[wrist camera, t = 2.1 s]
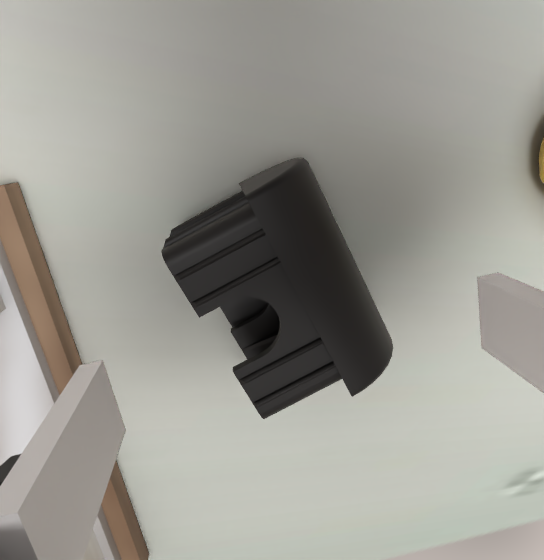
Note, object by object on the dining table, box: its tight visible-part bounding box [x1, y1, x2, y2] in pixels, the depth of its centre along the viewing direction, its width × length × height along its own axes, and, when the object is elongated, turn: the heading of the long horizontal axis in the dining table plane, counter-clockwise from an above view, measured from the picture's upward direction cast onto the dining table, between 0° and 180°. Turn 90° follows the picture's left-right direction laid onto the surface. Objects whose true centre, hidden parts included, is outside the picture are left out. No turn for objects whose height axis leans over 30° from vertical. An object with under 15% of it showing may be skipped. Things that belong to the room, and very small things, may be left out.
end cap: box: [162, 158, 393, 419], centre depth 21 cm, size 10×7×7 cm
